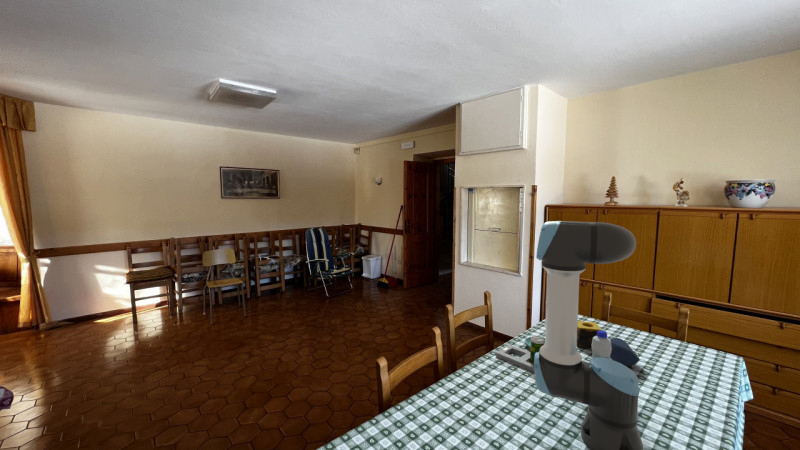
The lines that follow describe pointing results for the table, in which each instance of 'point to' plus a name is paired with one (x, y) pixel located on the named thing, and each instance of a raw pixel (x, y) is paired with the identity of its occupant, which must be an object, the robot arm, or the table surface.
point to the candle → (586, 333)
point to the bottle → (601, 345)
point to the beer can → (535, 347)
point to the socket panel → (520, 361)
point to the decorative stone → (622, 352)
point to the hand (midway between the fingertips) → (564, 306)
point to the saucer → (528, 341)
